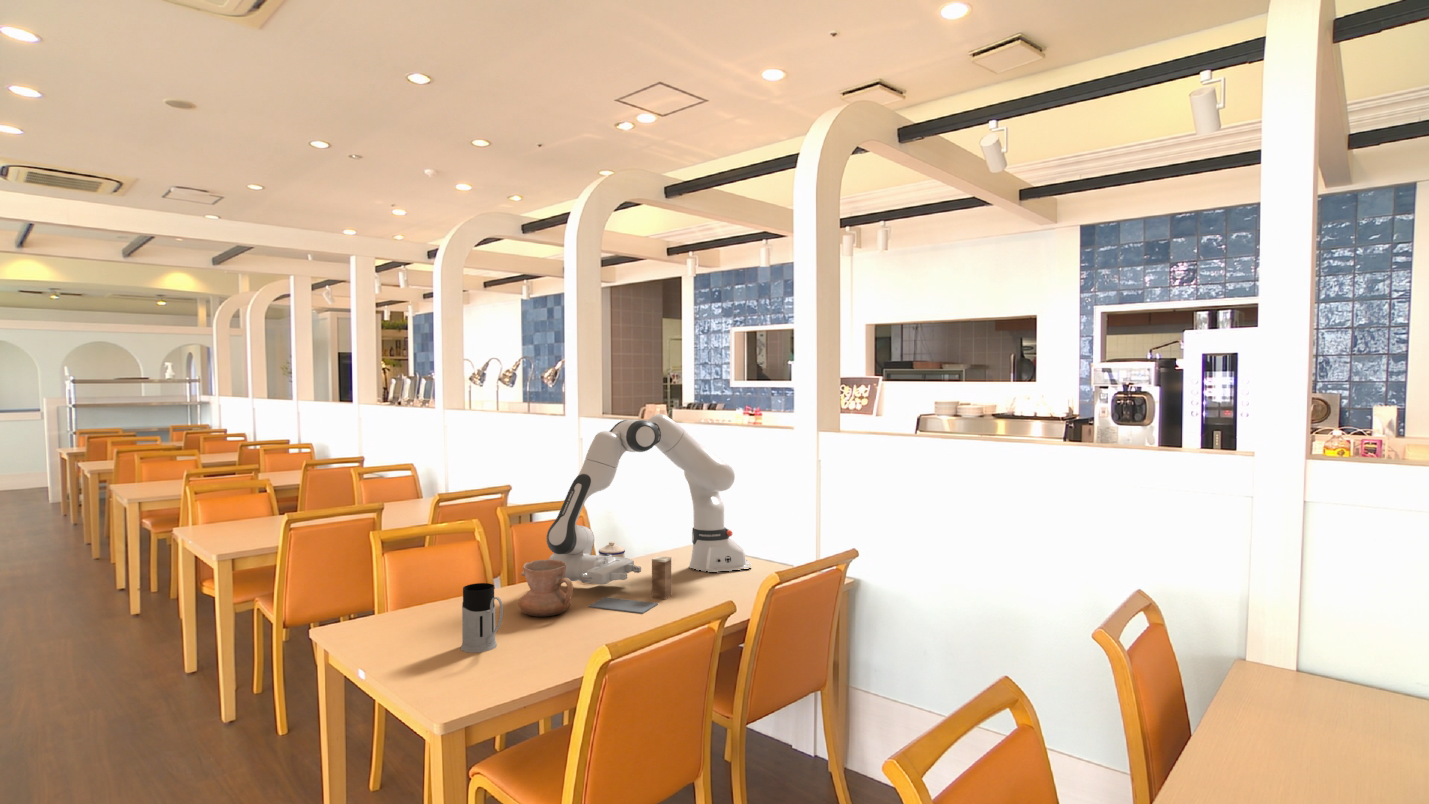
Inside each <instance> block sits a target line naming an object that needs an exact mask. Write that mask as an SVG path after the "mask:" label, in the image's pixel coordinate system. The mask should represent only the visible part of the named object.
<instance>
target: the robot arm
mask: <svg viewBox="0 0 1429 804" xmlns="http://www.w3.org/2000/svg"><path fill="white" fill-rule="evenodd" d="M593 438H594V439H593V440H592V442H591V443H590V446H589V448H588V450H587V453H586V456H585V459H584V462H583V464H582V466H581V469H580V471H579V472H578V474H577V476H576V477H575V478H574V480H573V482H571V485H570V487H569V489H568V491H567V494H566V496H565V499H564V501H563V502H562V506H561V508H560V510H559V513H558V515H557V517H556V518H555V520H554V521H553V523H552V524H551V525H550V526H549V528H548V530H547V534H546V545H547V547H548V548H549V550H550V551H551V552H552V554H551V555H550V556H549V559H548V560H560V561H564V562H566V571H565V576H564V577H565V578H569V579H570V580H571V581H572V582H581V583H585V584H594V585H601V586H602V585H607V584H609V583H611V582H614V581H626V579H628V574H629V573H631V572H634V573H637V574H639V573H641V572H642V567H641V566H638V565H635V561H634V560H633V559H631V558H627V557H625V558H622V557H612V555H609V554H607V555H601V556H600V555H599V554H592V553H593V550H594V549H593V548H594V545H595V535H594V532H593V531H592V529H590V528H589V527H588V526H584V525H580V524H579V525H578V524H577V522H578V519H579V518H580V515H581V512H582V510H583V508H584V505H585V502H586V501H587V500H588V499H589V498H590V496H592V495H594V494H595V493H598V492H601V491H604V490H606V489H607V488H609V487H610V486H611V484H612V482H613V481H614V478H615V476H616V473H617V471H618V466H619V463H620V459H621V458H622V456H623V455H624V454H625V453H626V452H629V453H635V452H636V453H637V452H638V453H643V452H644V453H645V452H648V451H649V450H651V449H652V448H653V447H654V446H655V447H656V448H657V449H658V450H659V451H660V452H661V453H662V454H664V455H665V456H666V457H667V458H668V459H669V460H670V461H671V462H672V463H673V464H674V465H675V466H676V467H678V468H680V469H681V470H683V471H684V472H683V473H684V477H685V480H686V481H687V483H688V487H689V490H690V496H691V500H692V506H693V507H692V508H693V527H692V530H691V543H692V551H691V552H692V553H691V558H690V561H689V566H690V567H689V566H688V567H689V568H690V569H691V568H694V569H696V570H695V571H699V570H701V572H706V571H708V572H707V573H709V572H717V573H719V572H718V571H729V572H733V571H732V570H738V569H744V568H750V567H751V566H748V565H752V563H751V561H749V560H747V559H746V554H745V553H746V552H745V551H744V549H743V547H741V546H740V545H739V544H738V543H737V542H735V541H734V540H733V539H731V538H730V537H732V536H733V534H734V533H733V531H732V530H731V529H728V528H727V527H725V506H724V502H722V500H721V496H720V493H719V492H724V491H727V490H729V489H730V488H732V485H733V484H734V482H735V471H734V469H733V468H732V467H731V466H730V465H729V464H727V463H726V462H724V461H723V460H721V458H719V457H718V456H717V455H715V454H714V453H712V452H711V451H710V450H709V449H707V448H705V446H703V445H701V444H700V443H699V442H698V441H696V439H694V438H693V436H692V435H690V434H689V433H688V432H687V430H685V429H684V428H683V427H682V426H681V425H679V424H678V423H677V422H676V421H674V420H673V419H671V418H670V417H669V416H667V415H666V414H664V413H663V414H662V413H657V414H655V415H652V416H651V417H650V418H649V419H648V420H643V419H633V418H632V419H623V420H621V421H619V422H617V423H615V424H614V425H613V427H612V428H611V429H609V431H606V430H603V431H600V432H597V434H595V436H594V437H593ZM694 569H693V570H694Z"/></svg>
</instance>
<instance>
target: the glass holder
mask: <svg viewBox="0 0 1429 804" xmlns="http://www.w3.org/2000/svg"><path fill="white" fill-rule="evenodd" d="M495 600H497V601H498V604H499V617H498V618H499V619H498V622H497V625H496V604H495ZM461 606H462V607H461V609H462V610H461V611H462V612H461V613H462V614H461V615H462V616H461V619H462V620H461V623H462V625H461V626H462V631H461V632H462V633H461V634H462V641H461V642H462V643H461V645H460V650H461V651H463V652H465V653H473V654H475V653H484V652H487V651H492V650H494V649H495V648H497V647H498V643H497V641H496V633H497V631H498V630H499V629H500V628H501V624H502V622H503V618H504V617H503V615H504V604H503V601H502V598H500V597H498V596H495V585H494V584H493V583H490V582H489V583H487V582H477V583H471V584H467V585H465V586H463V587H462V605H461Z"/></svg>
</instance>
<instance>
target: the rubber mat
mask: <svg viewBox="0 0 1429 804" xmlns="http://www.w3.org/2000/svg"><path fill="white" fill-rule="evenodd" d="M658 605H659V603H658V602H653V601H645V600H643V601H642V600H635V599H625V598H615V597H610V596H607V597H606V596H604V597H603V598H601V599H599V600H597V601H595V602H593V603H591V604H589V605H588V608H592V609H601V610H610V611H617V612H618V611H619V612H625V613H633V614H634V613H635V614H641V615H643V614H645V613H647V612H648V611H650V610H651V609H653V608H655V607H656V606H658Z"/></svg>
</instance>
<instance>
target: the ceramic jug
mask: <svg viewBox="0 0 1429 804" xmlns="http://www.w3.org/2000/svg"><path fill="white" fill-rule="evenodd" d="M522 570H523V571H521V573H520V575H521V576H523V577H525V580H526V583H527V586H528V588H529V589H530V590H529V591H527V592H526V593H525V594H523V595H522V596H521V597H520V599H519V602H518V607H519V609H520V611H521V612H522V613H524V614H526V615H529V616H530V617H532V616H533V617H538V618H539V617H540V618H541V617H551V616H555V615H556V616H557V615H559V614H562V613H564V612H565V611H567V610H568V609H569V607H570V606H571V604H572V603H571V598H572V595H573V592H574V584H573V581H571V580H570V579H569V578H565V577H564V576H565V571H566V562H564V561H560V560H549V559H537V560H532V561H531V562H525V563H524V564H523V569H522ZM564 583H565V584H566V586H567V588H566V589H567V591H566V592H565V591H564V590H562V589H561V586H562V584H564Z"/></svg>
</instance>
